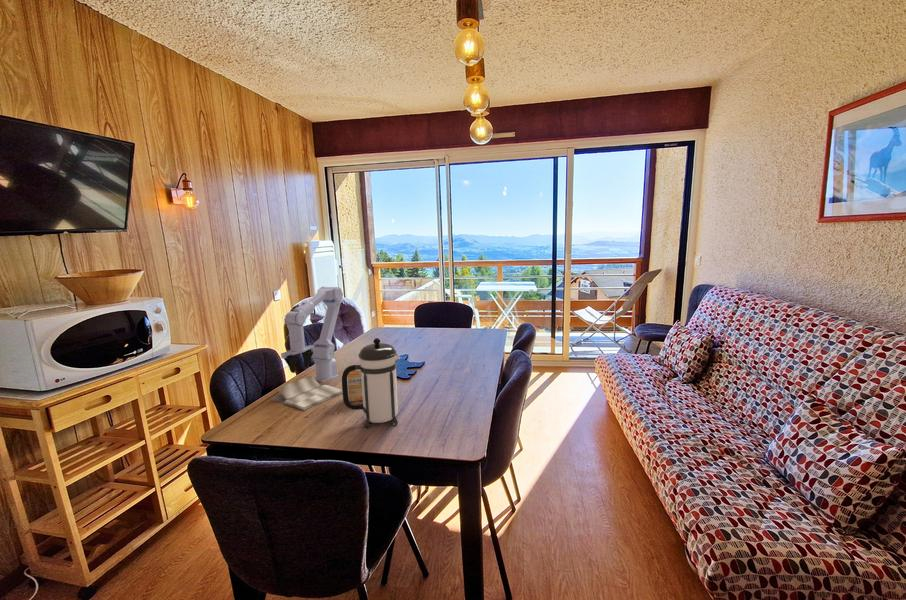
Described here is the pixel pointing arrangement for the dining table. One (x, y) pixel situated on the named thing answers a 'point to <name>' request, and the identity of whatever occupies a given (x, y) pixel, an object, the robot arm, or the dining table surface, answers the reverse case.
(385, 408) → the coffee press
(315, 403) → the floor panel
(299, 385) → the loose plank
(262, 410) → the dining table surface
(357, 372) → the supplement box
